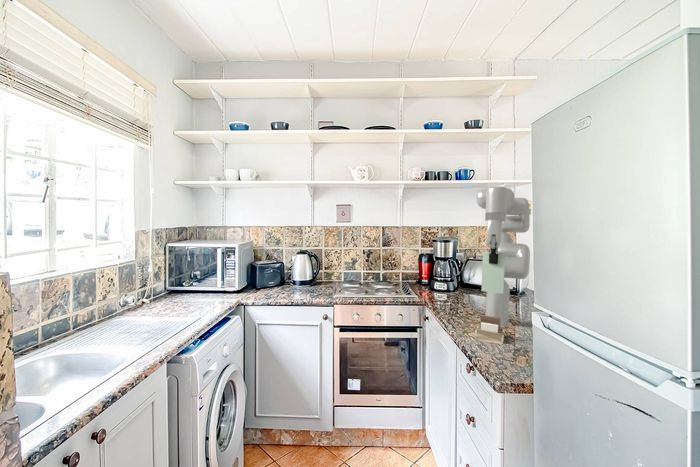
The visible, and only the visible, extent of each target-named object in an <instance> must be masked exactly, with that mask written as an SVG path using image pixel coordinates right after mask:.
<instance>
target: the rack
mask: <svg viewBox="0 0 700 467" xmlns="http://www.w3.org/2000/svg"><path fill="white" fill-rule="evenodd" d="M480 323H481V322H479V323H478V325H476V326H477V327H476V329H475V331H474V339H475V340H479V341H484V342H490V343H495V344H499V345H504V340H505V329H504V327H502V326H500V331H498V333H495V332H490V331H484V330H481V328H480Z"/></svg>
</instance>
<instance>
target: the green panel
mask: <svg viewBox="0 0 700 467" xmlns="http://www.w3.org/2000/svg"><path fill="white" fill-rule="evenodd" d="M489 254H490V251H483V252H482V263H481V264H482V265H481V266H482V267H481V268H482V269H481V270H482V271H481V292H484V293H485V292H486V293H487V292H494V293H502V294H503V293H504V280H505V278H504V269H505V253H497V254H498V264H490V263H489Z"/></svg>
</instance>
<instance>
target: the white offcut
mask: <svg viewBox="0 0 700 467" xmlns="http://www.w3.org/2000/svg"><path fill="white" fill-rule="evenodd" d="M480 323H481V330H484V331H490V332H495V333H498V325H496V324H490V323H484V322H481V321H480Z"/></svg>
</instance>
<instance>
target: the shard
mask: <svg viewBox="0 0 700 467" xmlns="http://www.w3.org/2000/svg"><path fill="white" fill-rule="evenodd" d="M467 324H470V325H474V326H477V323H476V322H474V321H468V322H467Z"/></svg>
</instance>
